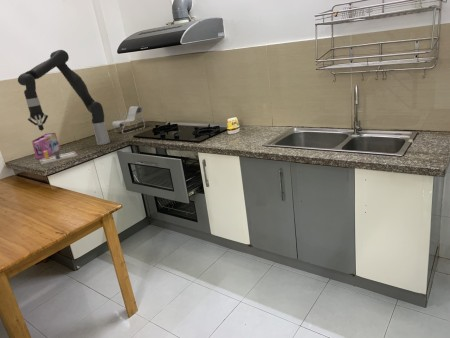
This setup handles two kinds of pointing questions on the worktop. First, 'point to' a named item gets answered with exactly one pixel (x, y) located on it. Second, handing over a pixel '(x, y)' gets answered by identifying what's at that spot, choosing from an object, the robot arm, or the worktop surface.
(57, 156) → the fader charcoal
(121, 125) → the chair
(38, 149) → the gum box
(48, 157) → the fader amber
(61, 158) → the console
